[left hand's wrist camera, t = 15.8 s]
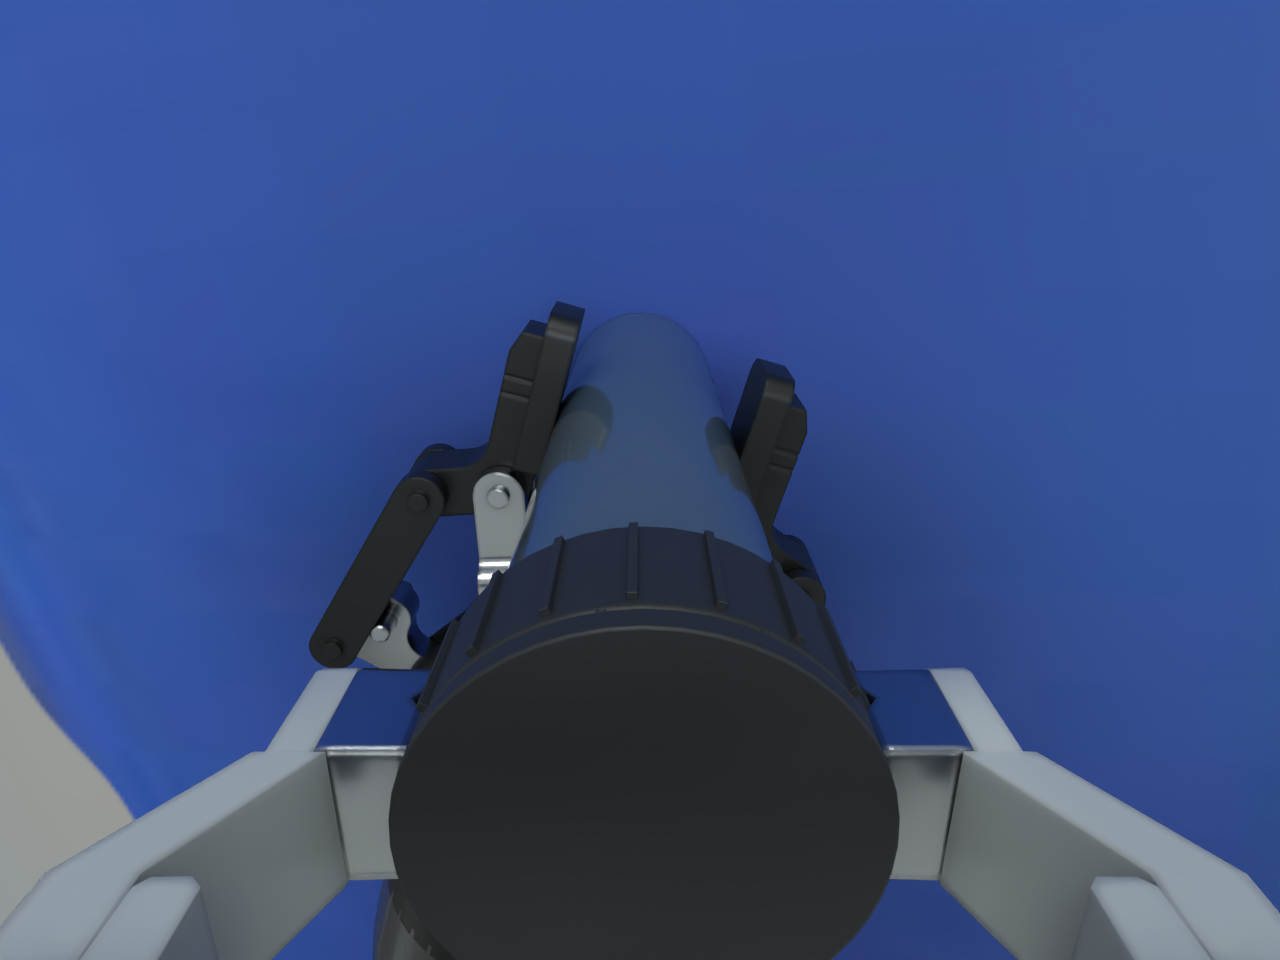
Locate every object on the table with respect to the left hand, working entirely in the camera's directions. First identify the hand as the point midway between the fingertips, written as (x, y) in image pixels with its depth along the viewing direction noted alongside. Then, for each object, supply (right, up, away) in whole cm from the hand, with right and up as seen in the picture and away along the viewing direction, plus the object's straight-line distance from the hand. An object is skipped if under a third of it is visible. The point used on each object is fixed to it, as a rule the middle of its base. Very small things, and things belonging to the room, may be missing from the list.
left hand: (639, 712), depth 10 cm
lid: (0, -1, -2) cm, 2 cm away
